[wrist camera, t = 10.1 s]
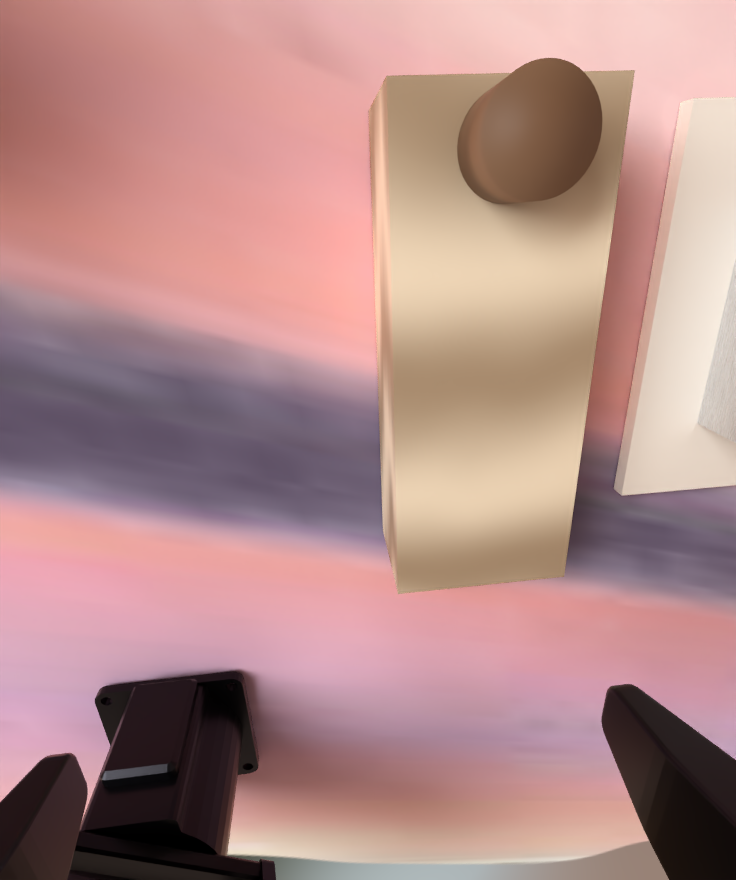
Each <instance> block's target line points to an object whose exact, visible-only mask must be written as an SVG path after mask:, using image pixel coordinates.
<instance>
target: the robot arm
mask: <svg viewBox="0 0 736 880" xmlns="http://www.w3.org/2000/svg"><path fill="white" fill-rule="evenodd" d="M231 683H235V684H231ZM95 704H96V707H97V710H98V712H99V715H100V718H101V721H102V723H103V726H104V729H105V732H106V735H107V737H108V740H109V743H110V746H111V747H110V749H109V752H108V754H107V757H106V760H105V762H104V765H103V768H102V770H101V773H100V775H99V778H98V781H97V783H96V786H95V789H94V791H93V794H92V796H91V799H90V802H89V804H88V807H87V810H86V812H85V815H84V817H83V813H84V809H85V805H86V801H87V783H86V781H85V778H84V776H83V773H82V771H81V768H80V766H79V764H78V761H77V759H76V757H75V755H73V754H72V753H64V754H56V755H50V756H47V757H45V758H43V759H42V760H41V761H40V762H38V763H37V765H36V766H35V767H34V768H33V769H32V770H31V771H30V772H29V773H28V774H27V775H26V776H25V777H24V778H23V779H22V780H21V781H20V782H19V783H18V784H17V785H16V786H15V787H14V788H13V789H12V790H11V792H10V793H9V794H8V795H7V796H6V797H5V798H4V799H3V800H2V801H1V802H0V880H276V875H275V864H274V861H269V860H263V859H260V861H259V862H258V861H252V860H246V859H241V858H235V857H229V856H227V852H228V844H229V837H230V829H231V821H232V814H233V806H234V799H235V791H236V783H237V776H238V775H239V774H247V773H252V772H254V771H256V770H257V768H258V761H259V756H258V750H257V745H256V740H255V735H254V729H253V724H252V719H251V714H250V708H249V703H248V698H247V693H246V687H245V682H244V678H243V676H242V675H241V674H240V673H237V672H225V673H216V674H207V675H198V676H190V677H181V678H172V679H163V680H154V681H146V682H137V683H128V684H119V685H110V686H105V687H102V688H101V689H100V690H99V692H98V694H97V696H96V698H95ZM602 728H603V731H604V734H605V737H606V739H607V741H608V744H609V746H610V749H611V751H612V754H613V756H614V759H615V761H616V763H617V766H618V768H619V771H620V773H621V776H622V778H623V781H624V783H625V786H626V788H627V790H628V793H629V795H630V798H631V800H632V803H633V805H634V808H635V810H636V812H637V815H638V817H639V819H640V822H641V824H642V826H643V829H644V831H645V833H646V835H647V837H648V839H649V841H650V843H651V845H652V847H653V849H654V851H655V853H656V855H657V857H658V859H659V861H660V863H661V865H662V867H663V868H664V870H665V872H666V874H667V876H668V878H669V880H736V760H735V759H734V758H732V757H731V756H730V755H728V754H727V753H725V752H724V751H723V750H721V749H720V748H719V747H717V746H716V745H715V744H713V743H712V742H711V741H709V740H708V739H707V738H705V737H704V736H703V735H701V734H700V733H699V732H697V731H696V730H694V729H693V728H692V727H690V726H689V725H688V724H686V723H685V722H684V721H682V720H681V719H680V718H678V717H677V716H676V715H674V714H673V713H672V712H670V711H669V710H667V709H666V708H665V707H663V706H662V705H661V704H659V703H658V702H657V701H655V700H654V699H653V698H651V697H650V696H649V695H647V694H646V693H645V692H643V691H642V690H641V689H639V688H638V687H636V686H634V685H631V684H624V685H616V686H611V687H609V689H608V690H607V693H606V698H605V703H604V708H603V713H602ZM82 818H83V820H82ZM81 822H82V823H81Z"/></svg>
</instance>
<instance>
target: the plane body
mask: <svg viewBox="0 0 736 880" xmlns="http://www.w3.org/2000/svg"><path fill="white" fill-rule="evenodd" d="M634 71H635V70H629V71H584V72H583V71H582V70H581V69H580V68H579V67H577V66H576V65H574V64H572V63H570V62H568V61H565V60H562V59H557V58H544V59H538V60H534V61H531V62H529V63H527V64H524V65H523V66H521V67H520V68H518V69H516V70H515V71H514V72H512V73H493V74H447V75H402V76H386V78H385V80H384V82H383V84H382V86H381V88H380V90H379V92H378V94H377V96H376V98H375V100H374V101H373V103H372V105H371V107H370V109H369V139H370V168H371V197H372V226H373V255H374V284H375V313H376V341H377V370H378V399H379V428H380V457H381V486H382V515H383V532H384V536H385V541H386V545H387V549H388V553H389V557H390V562H391V566H392V570H393V574H394V579H395V583H396V587H397V591H398V594H402V593H411V592H421V591H431V590H440V589H450V588H459V587H469V586H479V585H488V584H498V583H507V582H517V581H526V580H536V579H546V578H555V577H564V573H565V566H566V559H567V551H568V544H569V537H570V530H571V523H572V516H573V508H574V501H575V494H576V487H577V480H578V473H579V465H580V458H581V451H582V444H583V437H584V430H585V422H586V415H587V408H588V401H589V394H590V387H591V379H592V372H593V365H594V358H595V351H596V344H597V336H598V329H599V322H600V315H601V308H602V301H603V294H604V286H605V279H606V272H607V265H608V258H609V251H610V243H611V236H612V229H613V222H614V215H615V208H616V200H617V193H618V186H619V179H620V172H621V165H622V157H623V150H624V143H625V136H626V129H627V122H628V114H629V107H630V100H631V93H632V86H633V79H634Z"/></svg>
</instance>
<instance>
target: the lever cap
mask: <svg viewBox="0 0 736 880" xmlns="http://www.w3.org/2000/svg"><path fill="white" fill-rule="evenodd" d="M697 423H698V424H700V425H702V426H704V427H706V428H708V429H709V430H711V431H713V432H715V433H717V434H719V435H721V436H723V437H725V438H727V439H729V440H731V441H733V442H735V443H736V259H735V263H734V267H733V272H732V276H731V280H730V284H729V289H728V293H727V297H726V302H725V306H724V310H723V314H722V319H721V323H720V327H719V332H718V336H717V340H716V344H715V349H714V353H713V357H712V361H711V366H710V370H709V374H708V379H707V383H706V387H705V391H704V396H703V400H702V404H701V409H700V413H699V417H698V421H697Z"/></svg>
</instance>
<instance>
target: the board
mask: <svg viewBox="0 0 736 880" xmlns="http://www.w3.org/2000/svg"><path fill="white" fill-rule="evenodd" d="M735 259H736V97H722V98H693V99H690V100H687V101H684V102H681V103H680V109H679V114H678V120H677V126H676V132H675V137H674V143H673V149H672V155H671V161H670V166H669V172H668V178H667V184H666V189H665V195H664V201H663V207H662V213H661V218H660V224H659V230H658V236H657V241H656V247H655V253H654V259H653V265H652V270H651V276H650V282H649V288H648V293H647V299H646V305H645V311H644V317H643V322H642V328H641V334H640V340H639V345H638V351H637V357H636V363H635V369H634V374H633V380H632V386H631V392H630V397H629V403H628V409H627V415H626V421H625V426H624V432H623V438H622V444H621V449H620V455H619V461H618V467H617V472H616V478H615V484H614V489H615V490H616V491H617V492H618V493H619V494H620V495H621V496H623V495H634V494H644V493H655V492H666V491H677V490H688V489H699V488H710V487H721V486H731V485H736V443H735V442H733V441H731V440H729V439H727V438H725V437H723V436H721V435H719V434H717V433H715V432H713V431H711V430H709V429H708V428H706V427H704V426H702V425H700V424H698V423H697V421H698V417H699V413H700V409H701V404H702V400H703V396H704V391H705V387H706V383H707V379H708V374H709V370H710V366H711V361H712V357H713V353H714V349H715V344H716V340H717V336H718V332H719V327H720V323H721V319H722V314H723V310H724V306H725V302H726V297H727V293H728V289H729V284H730V280H731V276H732V272H733V267H734V263H735Z"/></svg>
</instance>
